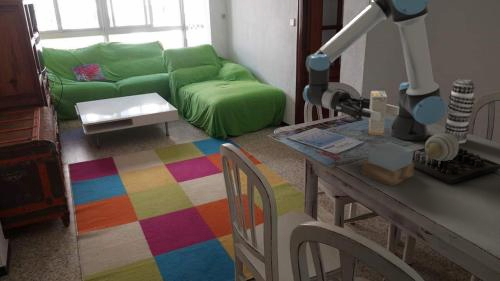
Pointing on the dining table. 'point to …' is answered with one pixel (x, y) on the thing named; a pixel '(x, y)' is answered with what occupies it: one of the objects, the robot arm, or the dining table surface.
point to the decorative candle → (460, 109)
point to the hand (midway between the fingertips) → (389, 114)
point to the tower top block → (390, 156)
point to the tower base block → (387, 173)
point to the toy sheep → (442, 146)
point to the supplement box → (379, 105)
